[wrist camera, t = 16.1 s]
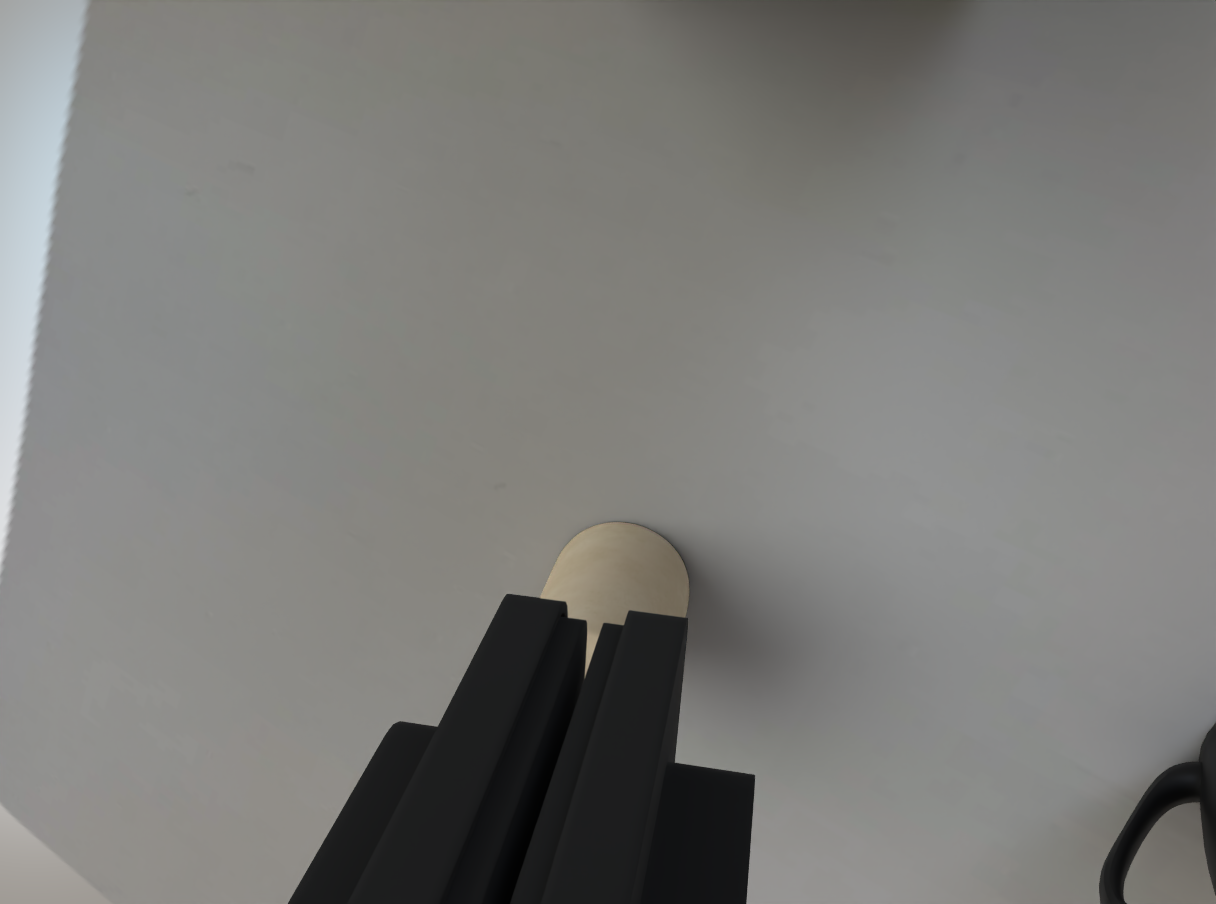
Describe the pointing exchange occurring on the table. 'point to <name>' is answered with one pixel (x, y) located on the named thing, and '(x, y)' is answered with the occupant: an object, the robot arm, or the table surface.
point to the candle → (617, 577)
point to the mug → (1183, 783)
